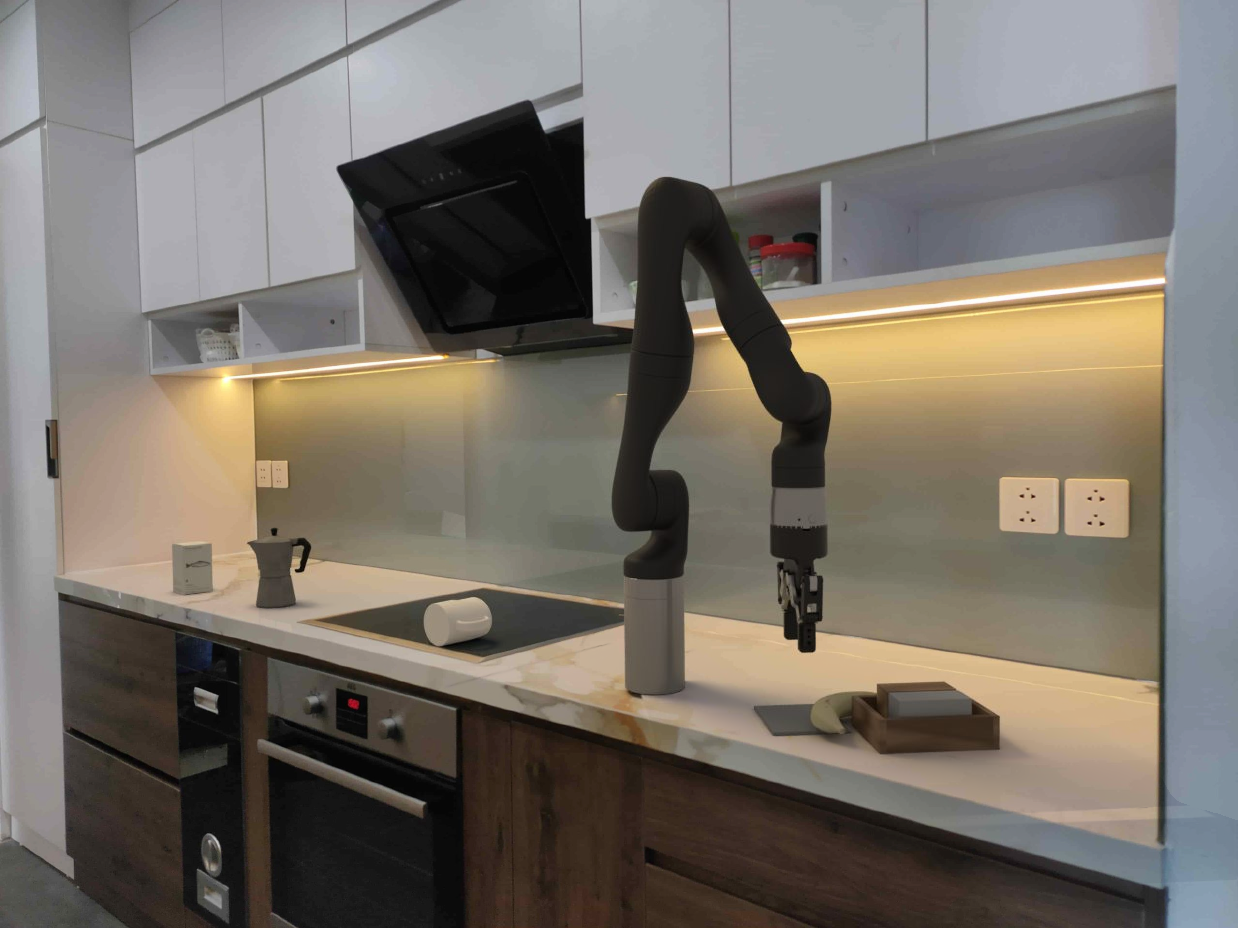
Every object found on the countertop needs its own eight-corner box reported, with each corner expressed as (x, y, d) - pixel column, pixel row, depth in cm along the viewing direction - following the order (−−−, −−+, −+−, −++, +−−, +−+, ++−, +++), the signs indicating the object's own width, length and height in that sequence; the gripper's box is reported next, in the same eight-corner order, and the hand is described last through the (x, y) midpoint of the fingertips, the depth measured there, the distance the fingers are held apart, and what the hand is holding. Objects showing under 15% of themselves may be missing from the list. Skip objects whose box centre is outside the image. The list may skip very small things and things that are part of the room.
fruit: (856, 675, 122) (851, 697, 122) (794, 702, 111) (789, 726, 112) (902, 698, 117) (897, 720, 117) (842, 728, 106) (837, 752, 107)
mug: (421, 642, 164) (420, 600, 164) (461, 633, 171) (460, 593, 171) (461, 652, 156) (460, 608, 156) (501, 642, 163) (500, 600, 163)
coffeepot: (238, 607, 200) (236, 530, 200) (259, 600, 210) (257, 525, 209) (303, 608, 199) (301, 529, 198) (320, 600, 208) (319, 525, 208)
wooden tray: (851, 725, 114) (851, 695, 114) (961, 721, 115) (961, 691, 115) (880, 753, 104) (879, 720, 104) (999, 748, 105) (999, 716, 105)
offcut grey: (888, 739, 109) (888, 692, 109) (958, 737, 109) (958, 690, 109) (899, 749, 105) (899, 701, 105) (971, 747, 106) (971, 698, 106)
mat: (753, 708, 122) (753, 705, 121) (823, 706, 122) (823, 703, 122) (773, 735, 111) (773, 732, 111) (850, 732, 111) (849, 729, 111)
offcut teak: (876, 729, 113) (876, 683, 113) (944, 726, 113) (944, 681, 113) (887, 738, 109) (887, 691, 109) (956, 735, 110) (956, 688, 110)
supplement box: (183, 595, 217) (182, 545, 217) (172, 592, 222) (171, 543, 222) (213, 591, 222) (212, 542, 222) (202, 588, 228) (201, 540, 227)
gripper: (758, 516, 122) (759, 634, 123) (784, 527, 108) (785, 660, 109) (810, 515, 123) (811, 632, 123) (843, 525, 109) (844, 658, 109)
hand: (799, 645), depth 116 cm, fingers open, 6 cm apart
